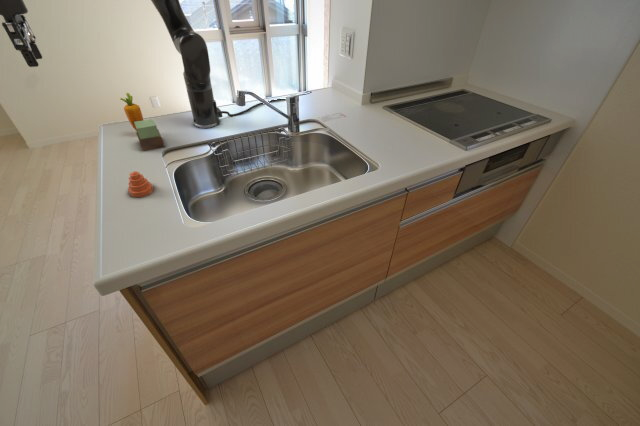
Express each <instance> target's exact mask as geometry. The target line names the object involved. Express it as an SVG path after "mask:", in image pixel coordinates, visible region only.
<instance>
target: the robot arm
mask: <svg viewBox="0 0 640 426" xmlns="http://www.w3.org/2000/svg"><path fill="white" fill-rule="evenodd" d="M150 1H151V3H152V4H153V6H154V8H155V9H156V11H157V12H158V14H159V16H160V17H161V20H162V21H163V23H164V26H165V27H166V30H167V32H168V34H169V36H170V38H171V41H172V43H173V46H174V48H175V50H176V51H177V52H178V54H179V55H181V56H180V57H181V60H182V65H183V72H182V76H183V80H184V85H185V89H186V92H187V97H188V102H189V106H190V110H191V115H192V121H193V125H194V126H195V127H197V128H198V129H199V128H200V129H209V128H210V129H211V128H214V127H216V126H217V125H218V126H219V125H221V123H220V118H223V114H226V115H227V116H228V117H236V116H240V115H242V114H245V113H247V112H249V111H251V110H252V109H255V108H257V107H259V106H261V105H264V104H263V103H261V102H258V103H256V104H253V105H251V106H250V107H248V108H246V109H245V110H242V111H240V112H237V113H230V112H229V111H227V110H221V109H220V107H217V101H216V100H215V98H214V92H213V87H212V80H211V64H210V63H211V62H210V56H209V50H208V45H207V43H206V40H205V39H204V37H203V36H202V35H200V34H199V33H198V32H196V31H195V30H194V29H193V27H192V26H191V23H190V22H189V21H188V18H187V17H186V15H185V13H184V10H183V9H182V5H181V3H180V0H150ZM28 12H29V10H28V7H27V6H26V4H25V2H24V0H0V16H2V17H3V20H4V22H1V26H2V27H3V29H4V30H5V32H6V34H7V36H8V38H9V40H10V42H11V44H12V45H13V48H14V49H15V50H16V51H18V52H20V54H21V55H22V57H23V59H24V61H25V63H26V65H27V66H28V67H30V68H37V67H39V65H40V64H39V62H38V60H41V59H43V55H42V53H41V51H40V49H39V47H38V45H37V38H36V36H35V34H34V32H33V31H32V30H33V29H31V26H30V25H29V23H28V21H27V19H26V17H25V14H28ZM276 99H277V100H274V99H270V100H271V101H270V102H269V103H273V102H279V101H286V100H285V99H280V98H276Z"/></svg>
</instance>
